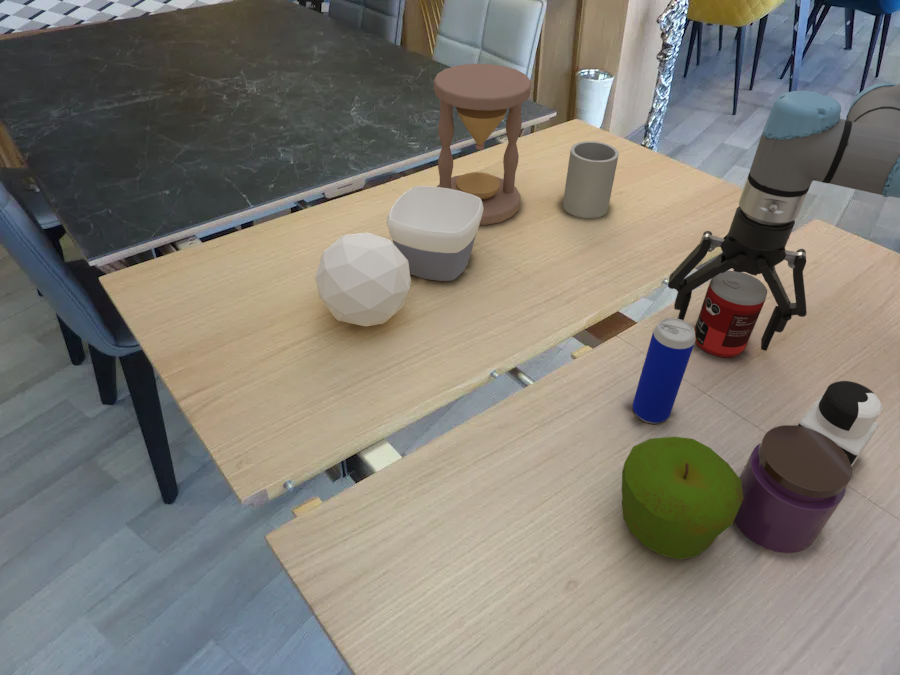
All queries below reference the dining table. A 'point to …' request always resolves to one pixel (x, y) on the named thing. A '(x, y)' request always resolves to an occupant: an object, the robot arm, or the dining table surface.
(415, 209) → the bowl
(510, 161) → the hourglass
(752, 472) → the jar
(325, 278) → the geometric shape
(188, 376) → the dining table surface
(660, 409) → the beverage can
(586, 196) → the cup
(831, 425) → the medicine bottle
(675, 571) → the dining table surface
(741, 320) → the canned food
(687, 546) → the apple
